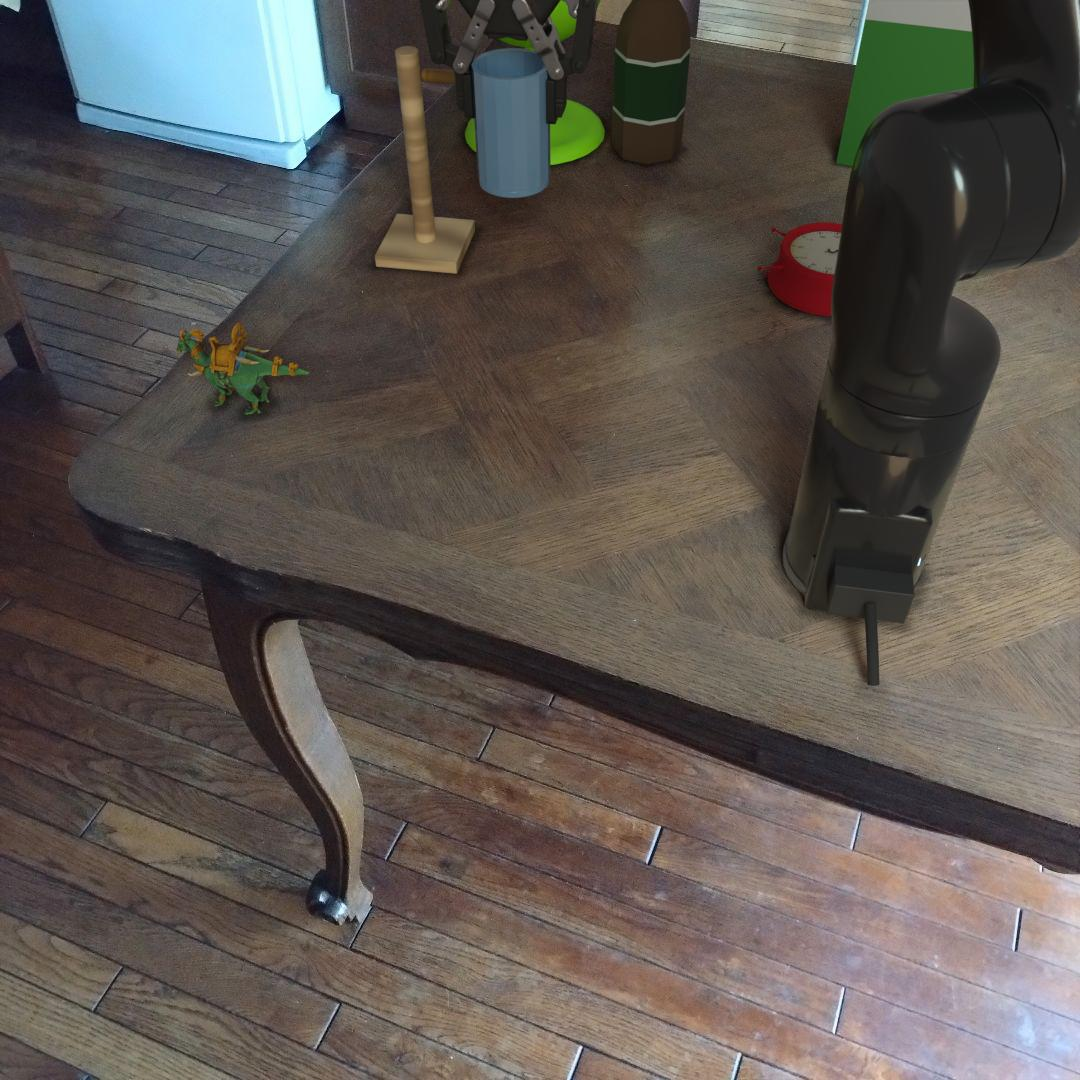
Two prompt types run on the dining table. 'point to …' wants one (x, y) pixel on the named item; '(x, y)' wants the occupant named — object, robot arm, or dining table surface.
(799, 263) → the alarm clock
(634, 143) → the beer bottle
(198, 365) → the figurine
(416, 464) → the dining table surface
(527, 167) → the mug
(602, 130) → the wineglass
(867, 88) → the hardback book
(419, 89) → the mug stand
